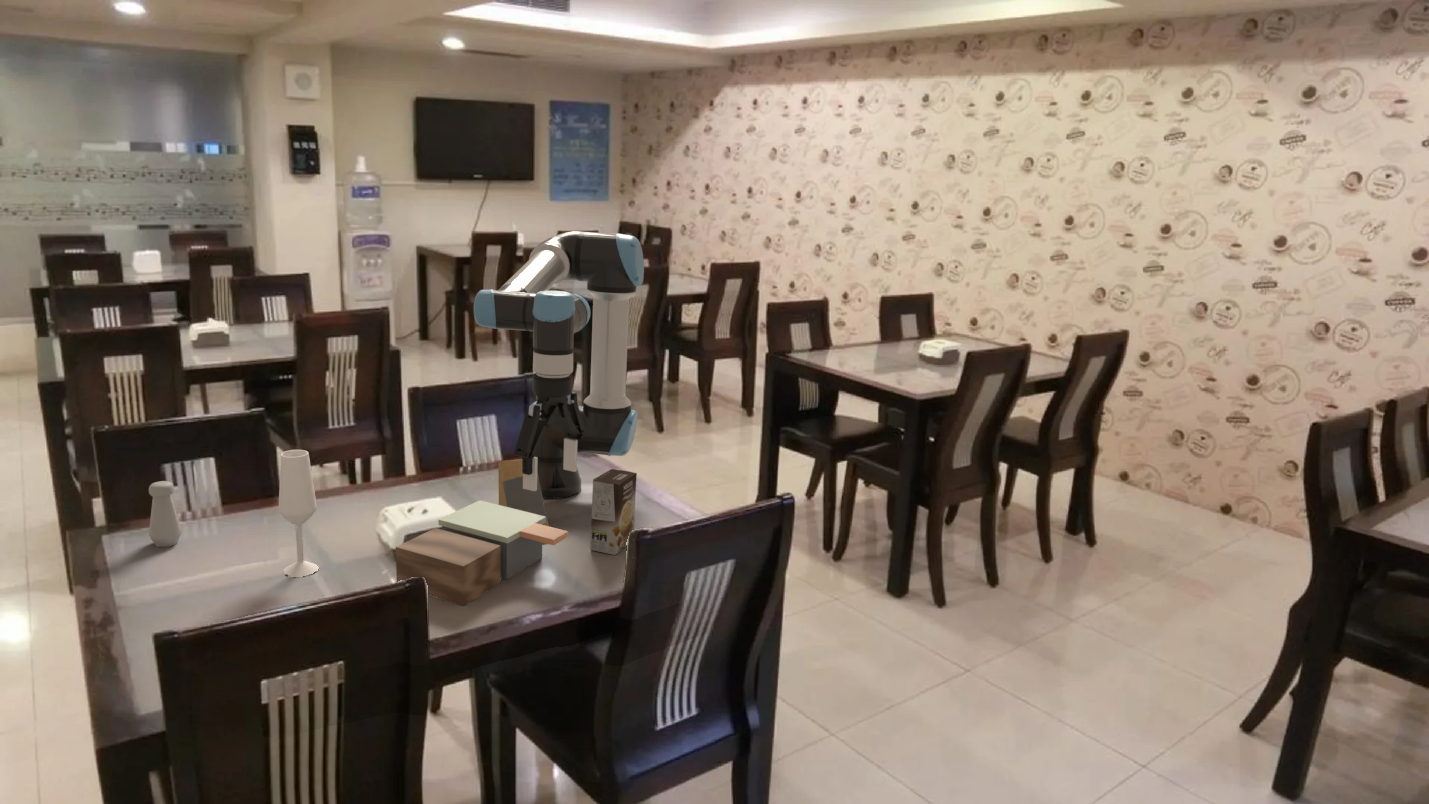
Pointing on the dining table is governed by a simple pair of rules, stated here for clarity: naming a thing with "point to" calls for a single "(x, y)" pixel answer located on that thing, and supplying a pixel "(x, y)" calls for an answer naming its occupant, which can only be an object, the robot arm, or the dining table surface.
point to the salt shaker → (163, 515)
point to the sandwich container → (518, 490)
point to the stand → (450, 565)
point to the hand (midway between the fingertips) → (550, 479)
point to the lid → (502, 523)
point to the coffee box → (612, 510)
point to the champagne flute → (297, 503)
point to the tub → (511, 552)
